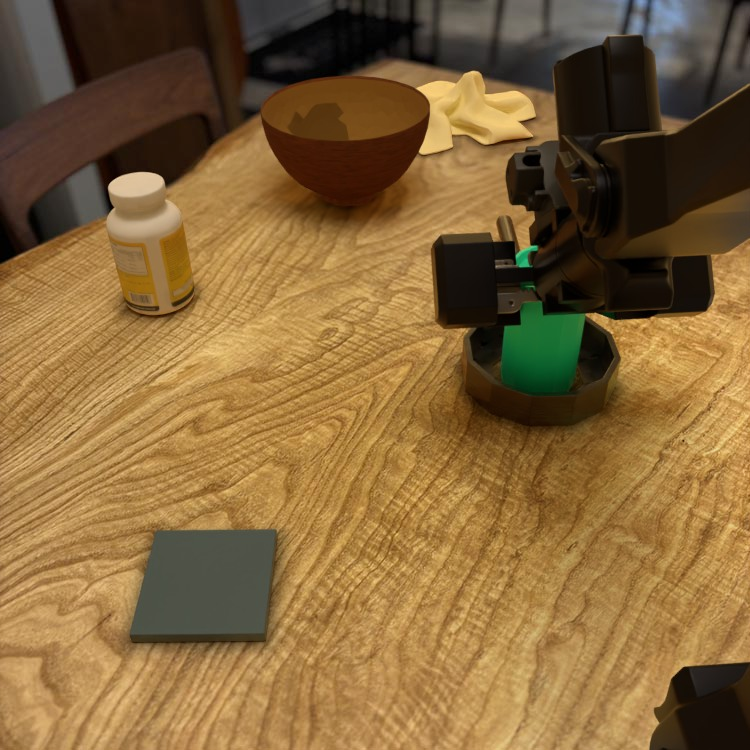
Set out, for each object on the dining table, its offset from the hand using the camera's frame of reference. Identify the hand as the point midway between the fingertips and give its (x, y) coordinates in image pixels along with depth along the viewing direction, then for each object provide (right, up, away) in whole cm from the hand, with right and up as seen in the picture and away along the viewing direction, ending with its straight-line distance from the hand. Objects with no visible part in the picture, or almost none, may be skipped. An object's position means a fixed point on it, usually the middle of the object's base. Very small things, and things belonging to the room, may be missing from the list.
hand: (542, 299), depth 66 cm
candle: (0, -6, +3) cm, 7 cm away
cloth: (-2, +27, +44) cm, 51 cm away
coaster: (-24, -19, -13) cm, 33 cm away
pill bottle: (-33, +1, +13) cm, 35 cm away
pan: (0, -1, +9) cm, 9 cm away
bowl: (-16, +14, +29) cm, 36 cm away
